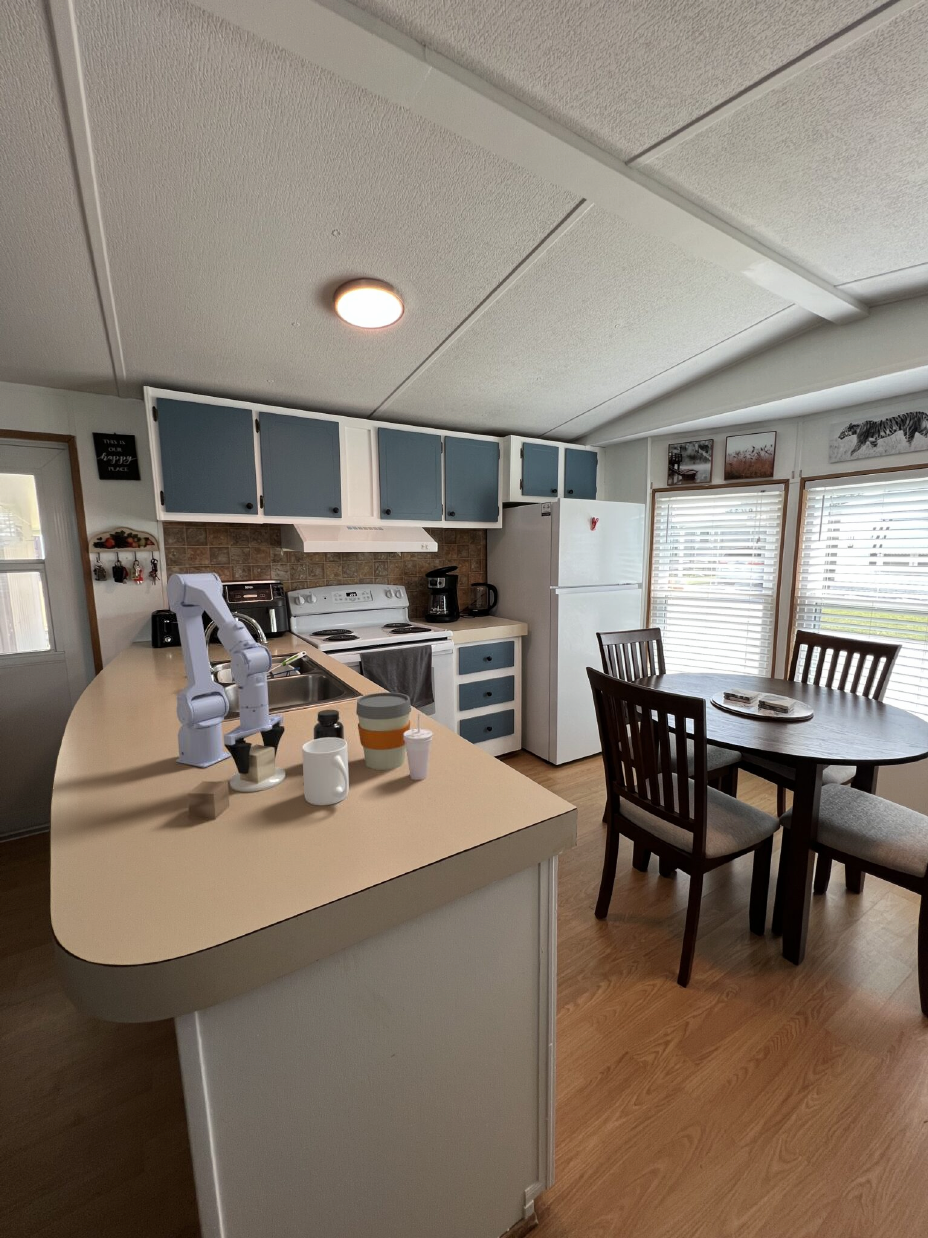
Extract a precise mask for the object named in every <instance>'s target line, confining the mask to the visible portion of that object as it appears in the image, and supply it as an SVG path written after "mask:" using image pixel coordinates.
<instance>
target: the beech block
mask: <svg viewBox="0 0 928 1238" xmlns="http://www.w3.org/2000/svg"><path fill="white" fill-rule="evenodd" d="M275 767H276V757H275V751H274V747H268V746H264V744H263V745H260V744H255V745H253V746H252V745H251V748H250V753H249V771H248V773H247V774H241V773H240V780H245V781H249V782H254V783H260V782H262V781H264V780H266V779H268V778H269V777H271V776H273V775H275V774H276V770H275Z"/></svg>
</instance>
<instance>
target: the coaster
mask: <svg viewBox="0 0 928 1238" xmlns="http://www.w3.org/2000/svg"><path fill="white" fill-rule="evenodd" d="M275 770H276V774H275V775H273V776H271V777H269V778H268V779H266V780H264V781H262V782H260V783H254V782H249V781H245V780H240V773H239V772H238V773H235V774H234V775H233V776H232V777H231V778H230V780H229V787H230V789H232V790H234V791H235V792H240V793H253V792H260V791H266V790H268V789H271V788H273V787H276V786H278V785H280V784H281V783H283V782H284V781H285V780H286V771H285V770H284V769H283V768H281V767H278V766H275Z"/></svg>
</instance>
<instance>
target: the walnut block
mask: <svg viewBox="0 0 928 1238" xmlns="http://www.w3.org/2000/svg"><path fill="white" fill-rule="evenodd" d="M229 792H230V791H229V781H211V780H210V781H204V780H202V781H201V782H200V783H199V784H197V785H196V786H194V787H193V788H192V789H191V790H190V791H188V792H187V793H186V795H187V808H188V819H191V820H192V819H193V820H216V819H218V817H220V816H221V815H222V814H223V813H224V812H225V811H226V810H228V809H229V807H230V796H229V795H230V794H229Z"/></svg>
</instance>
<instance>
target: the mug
mask: <svg viewBox="0 0 928 1238" xmlns="http://www.w3.org/2000/svg"><path fill="white" fill-rule="evenodd" d="M301 751H302V766H303V767H302V770H303V772H302V773H303V791H304V799H305V801H306V802H308V803H309V804H311V805H314V806H329V805H334V804H337V803H340V802H342V801H343V800H344V799H345V798H346V797H347V796H348V794H349V790H350V789H349V788H350V784H349V781H350V780H349V758H348V757H349V756H348V755H349V754H348V753H349V752H348V751H349V750H348V741H346V740H345V738H344V739H341V738H331V737H330V738H320V739H315V740H314V739H312V740H310V741H307V742H306V743H304V744H303V745H302V747H301Z"/></svg>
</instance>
